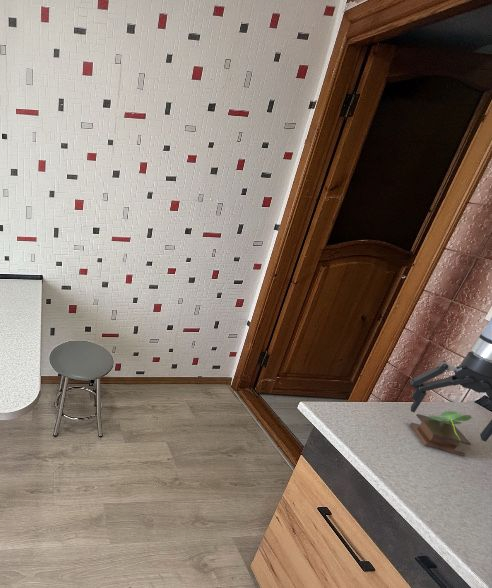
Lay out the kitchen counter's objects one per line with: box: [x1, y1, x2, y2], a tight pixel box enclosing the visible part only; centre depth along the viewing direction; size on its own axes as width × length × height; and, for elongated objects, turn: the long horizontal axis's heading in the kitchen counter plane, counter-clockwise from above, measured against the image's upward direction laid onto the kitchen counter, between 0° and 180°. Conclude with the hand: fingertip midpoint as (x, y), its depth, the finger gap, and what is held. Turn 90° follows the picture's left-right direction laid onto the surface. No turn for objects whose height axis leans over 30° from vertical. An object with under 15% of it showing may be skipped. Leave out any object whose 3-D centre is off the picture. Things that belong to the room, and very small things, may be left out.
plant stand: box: [409, 413, 472, 457], centre depth 91 cm, size 8×8×4 cm
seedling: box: [428, 410, 472, 441], centre depth 88 cm, size 7×8×6 cm
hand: (446, 423), depth 90 cm, fingers open, 13 cm apart
